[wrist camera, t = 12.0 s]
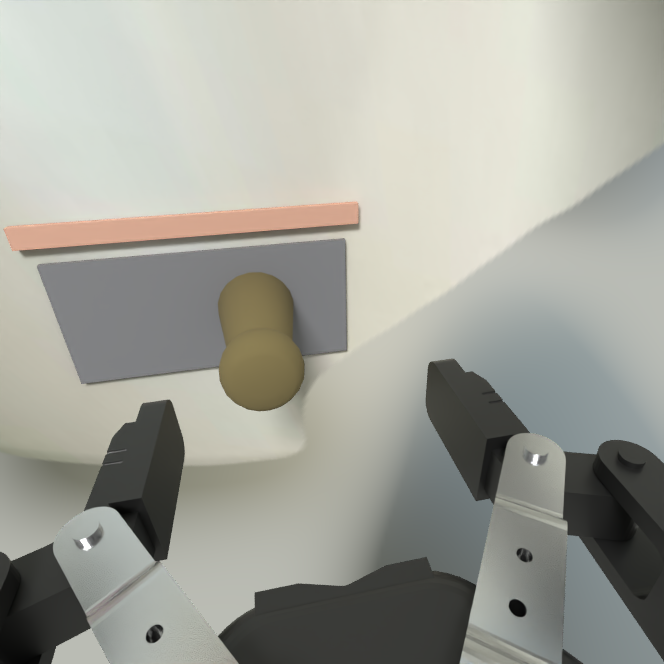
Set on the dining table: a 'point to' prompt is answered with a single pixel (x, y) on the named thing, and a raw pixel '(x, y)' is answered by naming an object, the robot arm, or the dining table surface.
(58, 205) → the dining table surface
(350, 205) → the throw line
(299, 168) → the dining table surface
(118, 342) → the mat
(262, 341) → the cork
